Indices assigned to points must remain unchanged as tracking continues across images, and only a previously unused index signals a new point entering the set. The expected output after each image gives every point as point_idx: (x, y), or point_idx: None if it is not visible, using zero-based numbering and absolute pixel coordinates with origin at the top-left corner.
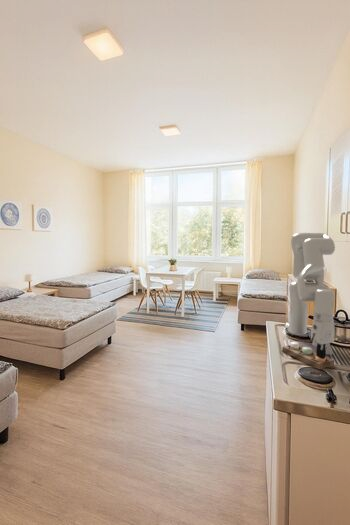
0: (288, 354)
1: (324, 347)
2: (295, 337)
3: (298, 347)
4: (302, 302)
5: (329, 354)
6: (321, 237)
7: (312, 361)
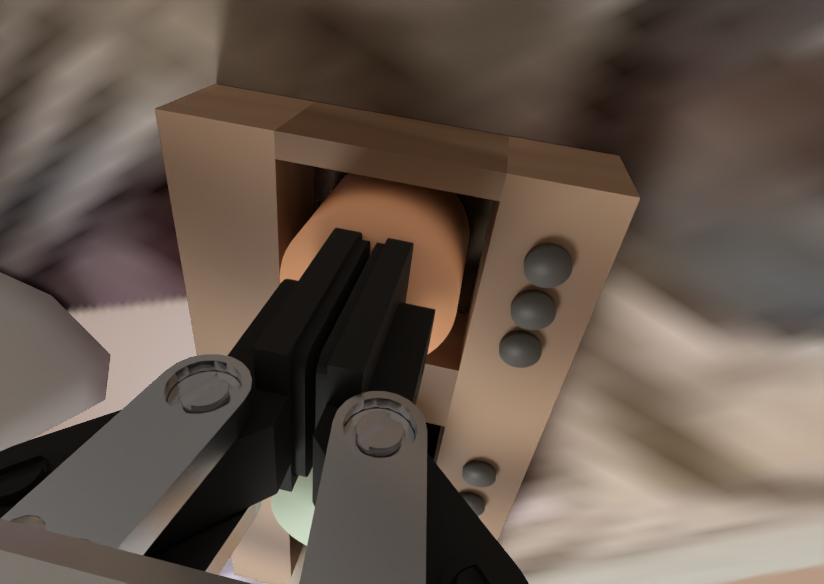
0: None
1: (237, 423)
2: None
3: None
4: None
5: (12, 282)
6: None
7: (588, 315)
